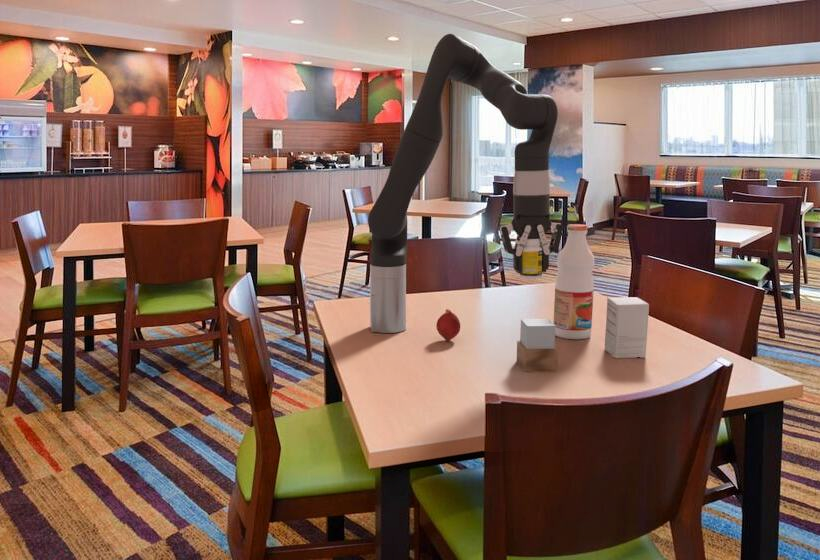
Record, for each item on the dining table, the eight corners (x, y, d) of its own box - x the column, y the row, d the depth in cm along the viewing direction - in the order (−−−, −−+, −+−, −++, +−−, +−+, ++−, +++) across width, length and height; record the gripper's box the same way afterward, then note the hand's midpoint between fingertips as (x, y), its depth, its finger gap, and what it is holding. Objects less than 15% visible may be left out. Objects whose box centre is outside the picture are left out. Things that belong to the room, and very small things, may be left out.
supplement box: (634, 348, 158) (638, 296, 156) (646, 358, 151) (650, 303, 149) (603, 348, 158) (606, 296, 156) (613, 358, 151) (617, 304, 148)
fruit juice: (558, 328, 176) (563, 222, 170) (595, 333, 171) (601, 224, 166) (548, 337, 168) (553, 225, 162) (585, 342, 163) (592, 228, 158)
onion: (445, 336, 168) (446, 305, 167) (464, 340, 165) (465, 308, 163) (431, 341, 164) (432, 309, 162) (450, 345, 160) (451, 313, 159)
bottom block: (524, 372, 142) (525, 350, 141) (516, 362, 149) (517, 340, 148) (556, 371, 142) (557, 349, 141) (547, 361, 149) (548, 339, 148)
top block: (526, 349, 142) (527, 326, 141) (520, 341, 147) (520, 319, 146) (554, 348, 142) (555, 325, 141) (546, 340, 148) (547, 318, 147)
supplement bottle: (542, 279, 141) (542, 239, 140) (519, 279, 142) (519, 239, 140) (541, 275, 146) (542, 236, 144) (519, 275, 147) (519, 236, 145)
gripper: (502, 194, 136) (503, 277, 139) (570, 192, 138) (569, 273, 141) (493, 192, 143) (494, 270, 146) (558, 190, 145) (557, 267, 148)
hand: (531, 271), depth 144 cm, fingers closed on supplement bottle, 4 cm apart
